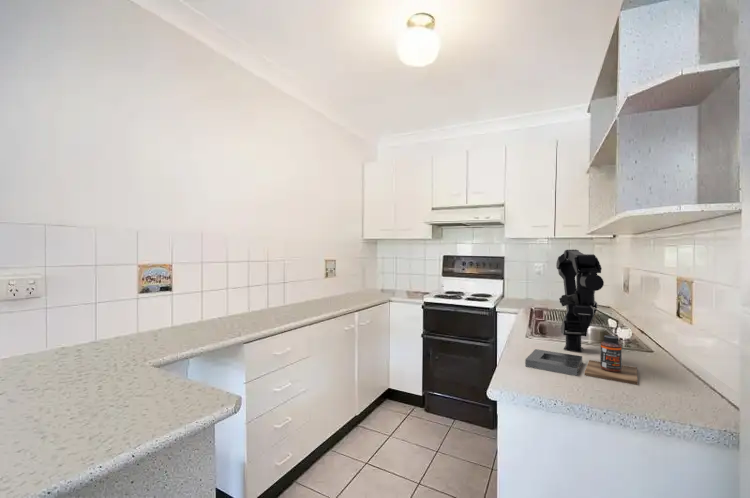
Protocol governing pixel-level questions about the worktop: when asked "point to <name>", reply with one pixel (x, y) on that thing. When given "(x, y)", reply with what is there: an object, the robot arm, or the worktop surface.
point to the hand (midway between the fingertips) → (585, 329)
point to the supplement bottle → (611, 354)
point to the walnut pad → (612, 373)
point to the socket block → (554, 362)
